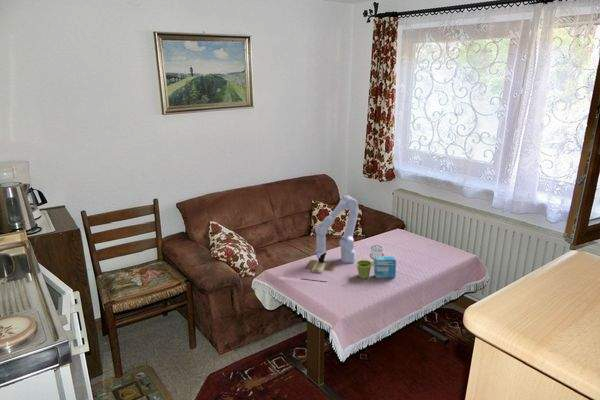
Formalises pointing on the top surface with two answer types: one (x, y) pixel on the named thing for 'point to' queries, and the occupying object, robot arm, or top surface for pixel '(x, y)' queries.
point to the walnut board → (329, 265)
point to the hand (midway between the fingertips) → (321, 263)
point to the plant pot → (364, 268)
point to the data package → (385, 267)
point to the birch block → (319, 267)
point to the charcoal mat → (314, 280)
